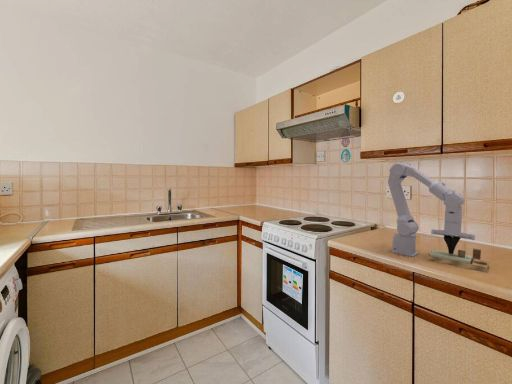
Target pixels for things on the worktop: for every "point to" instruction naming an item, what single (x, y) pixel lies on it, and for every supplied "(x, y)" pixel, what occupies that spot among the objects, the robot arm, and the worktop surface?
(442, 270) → the worktop surface
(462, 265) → the shallow wooden tray
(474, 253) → the dark brown rectangular block
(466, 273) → the worktop surface
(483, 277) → the worktop surface
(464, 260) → the lid
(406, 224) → the robot arm
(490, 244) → the worktop surface
